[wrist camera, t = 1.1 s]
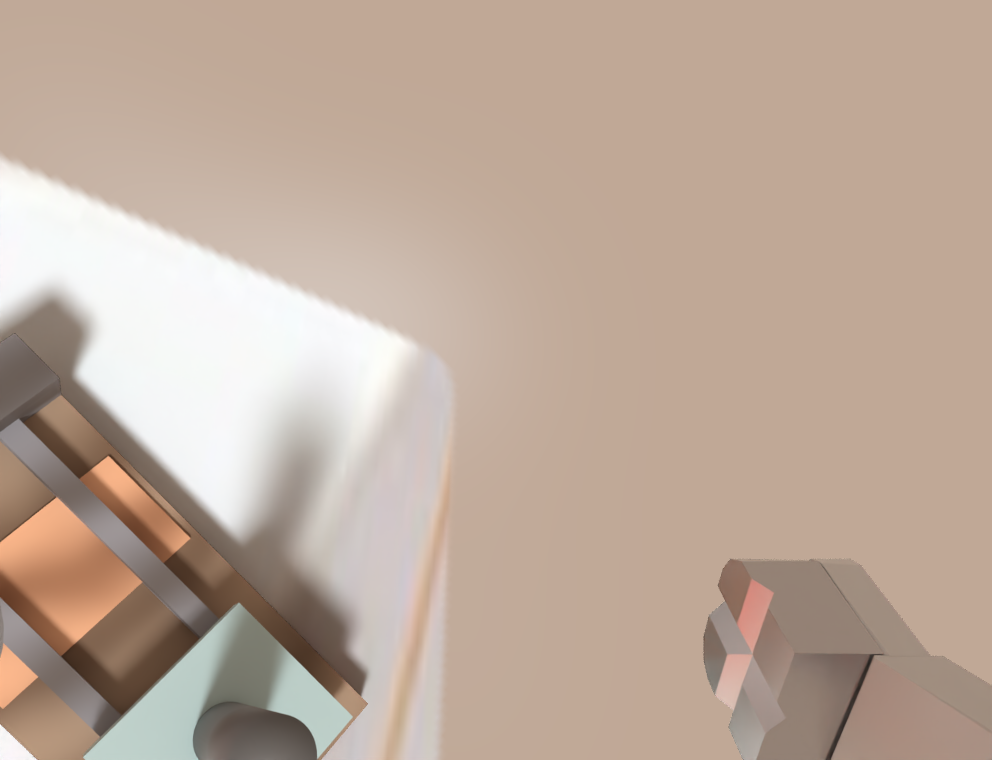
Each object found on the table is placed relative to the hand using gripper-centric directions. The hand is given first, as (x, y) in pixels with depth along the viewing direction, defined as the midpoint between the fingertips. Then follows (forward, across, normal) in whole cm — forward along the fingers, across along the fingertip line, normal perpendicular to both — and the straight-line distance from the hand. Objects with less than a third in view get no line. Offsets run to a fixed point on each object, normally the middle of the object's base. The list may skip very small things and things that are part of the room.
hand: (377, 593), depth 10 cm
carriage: (+23, +6, +29) cm, 37 cm away
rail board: (+27, +13, +26) cm, 40 cm away
